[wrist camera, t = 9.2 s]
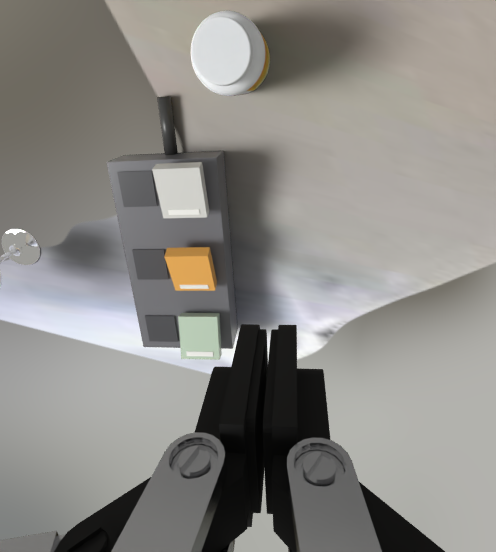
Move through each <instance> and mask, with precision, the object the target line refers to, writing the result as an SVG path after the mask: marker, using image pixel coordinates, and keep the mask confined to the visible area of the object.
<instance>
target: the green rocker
mask: <svg viewBox="0 0 496 552" xmlns="http://www.w3.org/2000/svg"><path fill="white" fill-rule="evenodd" d="M178 321H179V334H180V347H181V359H214V360H219V359H220V357H221V355H222V354H221V334H220V314H219V313H181V314H180V315H179V316H178Z"/></svg>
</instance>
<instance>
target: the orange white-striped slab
mask: <svg viewBox="0 0 496 552" xmlns="http://www.w3.org/2000/svg"><path fill="white" fill-rule="evenodd" d="M164 257H165V260H166V263H167V266H168V269H169V272H170V275H171V278H172V281H173V284H174V287H175V290H176V291H215V290H216V285H217V279H216V274H215V270H214V265H213V260H212V255H211V251H210V247H186V248H167V250H166V253H165V256H164Z"/></svg>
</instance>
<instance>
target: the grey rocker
mask: <svg viewBox="0 0 496 552" xmlns="http://www.w3.org/2000/svg"><path fill="white" fill-rule="evenodd" d="M152 171H153V175H154V180H155V184H156V188H157V193H158V197H159V201H160V206H161V210H162V214H163V218H205V217H207V216H208V213H209V205H208V198H207V192H206V185H205V178H204V172H203V165H202V162H191V163H165V164H156V165H155V166H154V167H153V169H152Z"/></svg>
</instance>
